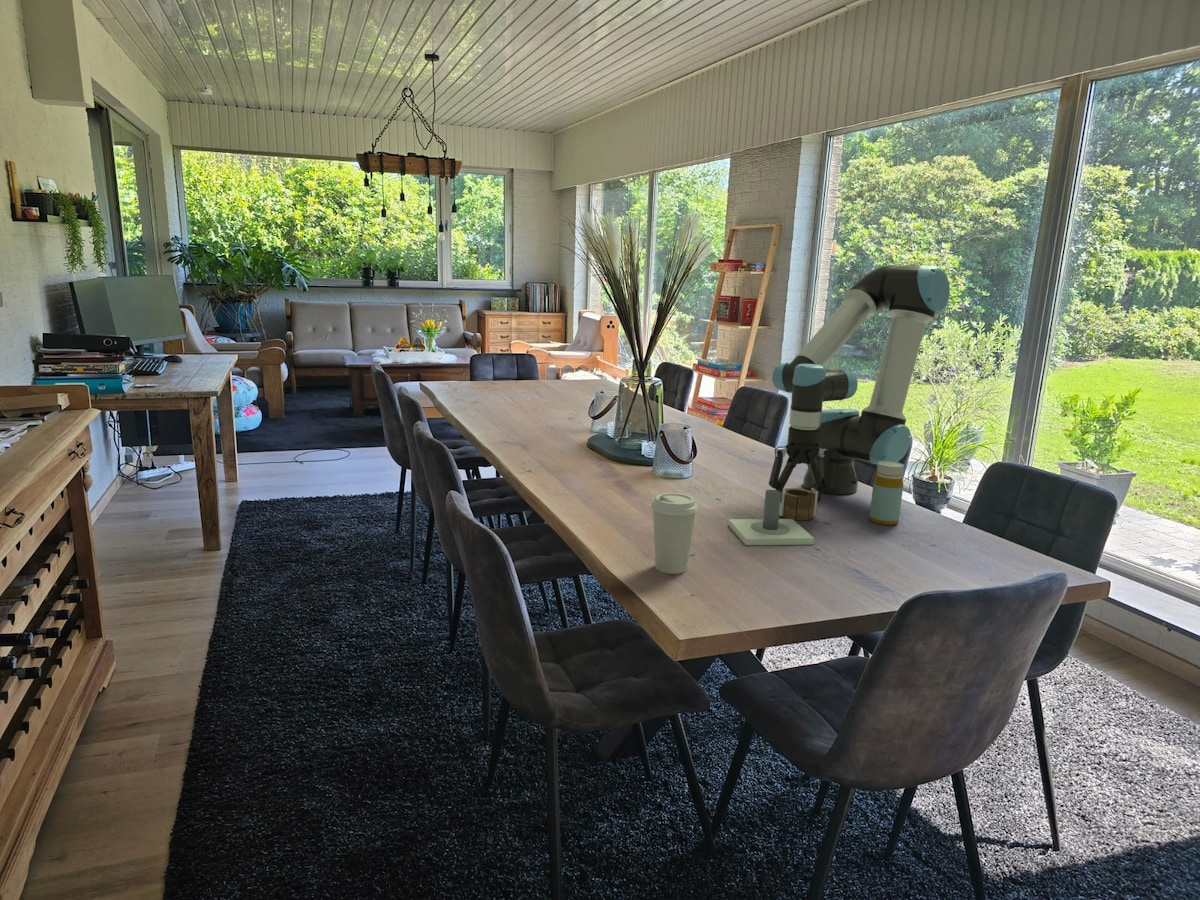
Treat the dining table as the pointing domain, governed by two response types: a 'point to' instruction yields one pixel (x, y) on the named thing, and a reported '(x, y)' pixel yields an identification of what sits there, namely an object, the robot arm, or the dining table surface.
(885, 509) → the bottle
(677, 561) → the coffee cup
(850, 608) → the dining table surface
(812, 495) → the collar
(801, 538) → the post stand
